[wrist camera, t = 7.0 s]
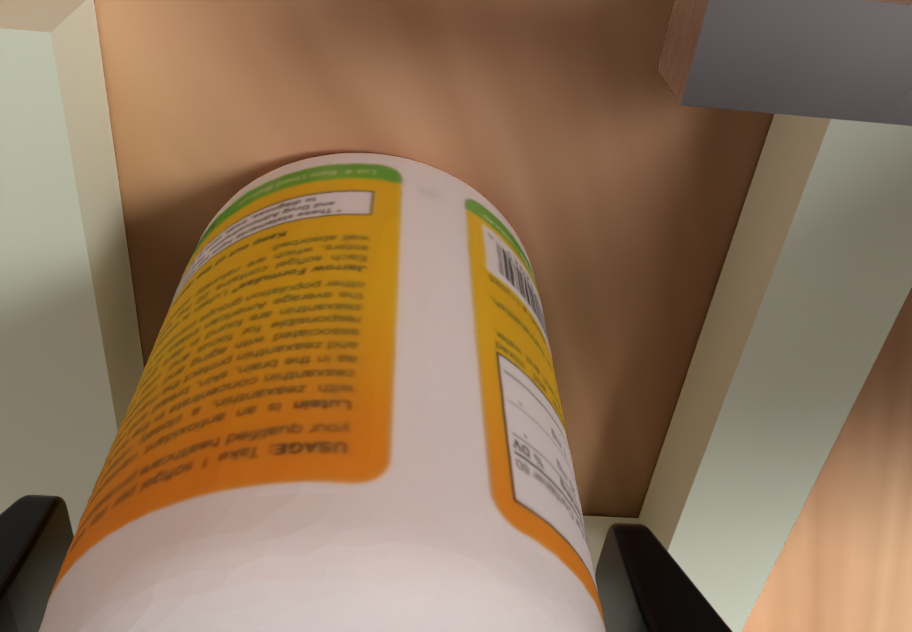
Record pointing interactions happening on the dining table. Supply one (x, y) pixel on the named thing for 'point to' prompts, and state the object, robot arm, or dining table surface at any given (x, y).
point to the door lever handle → (793, 57)
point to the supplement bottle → (341, 427)
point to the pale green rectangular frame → (705, 387)
